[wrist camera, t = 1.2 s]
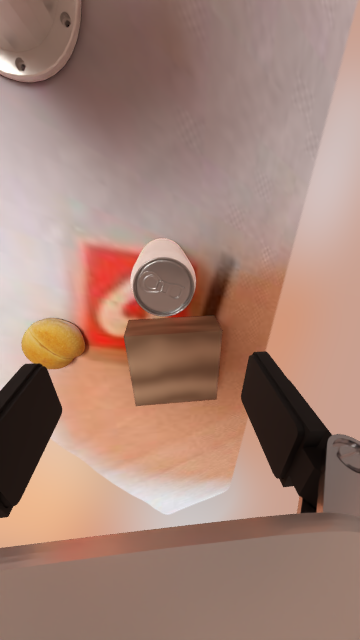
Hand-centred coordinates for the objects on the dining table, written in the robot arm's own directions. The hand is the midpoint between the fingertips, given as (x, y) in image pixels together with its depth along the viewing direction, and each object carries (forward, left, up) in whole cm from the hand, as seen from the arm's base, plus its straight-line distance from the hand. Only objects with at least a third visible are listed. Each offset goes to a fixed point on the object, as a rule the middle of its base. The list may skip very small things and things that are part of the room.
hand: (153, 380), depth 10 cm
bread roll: (+11, -17, -23) cm, 31 cm away
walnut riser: (+15, +2, -22) cm, 27 cm away
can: (-1, +1, -23) cm, 23 cm away
